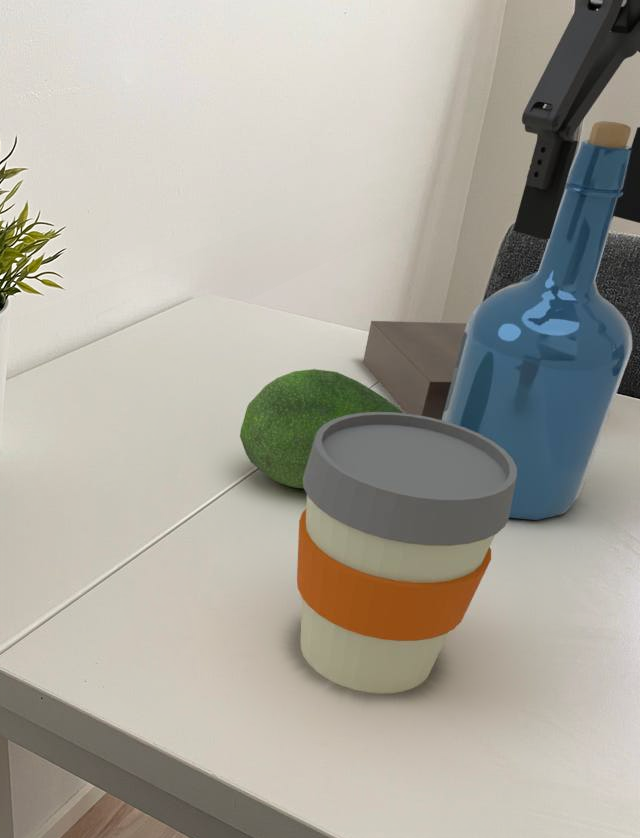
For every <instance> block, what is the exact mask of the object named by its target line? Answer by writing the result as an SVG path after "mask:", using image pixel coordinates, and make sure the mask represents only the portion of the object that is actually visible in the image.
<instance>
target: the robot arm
mask: <svg viewBox="0 0 640 838" xmlns="http://www.w3.org/2000/svg"><path fill="white" fill-rule="evenodd" d="M637 52H638V53H640V0H578V3H577V6H576V8H575V10H574V12H573V14H572V16H571V18H570V20H569V21H568V24H567V25H566V28H565V30H564V31H563V34H562V36H561V38H560V40H559V41H558V44H557V45H556V47H555V50H553V53H552V55H551V57H550V60H549V62H548V63H547V65H546V67H545V69H544V71H543V73H542V75H541V77H540V79H539V81H538V83H537V85H536V87H535V89H534V90H533V92H532V94H531V96H530V98H529V100H528V102H527V104H526V106H525V108H524V110H523V113H522V115H521V116H522V117H521V124H522V125H524V131H525V132H526V133H530V134H535V135H536V143H535V146H534V149H533V153H532V157H531V160H530V162H531V163H530V165H529V169H528V172H527V176H526V181H525V184H524V189H523V192H522V196H521V200H520V203H519V207H518V211H517V214H516V218H515V222H514V226H513V229H512V231H513V232H516V233H520V234H523V235H526V236H530V237H533V238H537V239H541V240H549V239H550V236H551V233H552V229H553V226H554V223H555V219H556V216H557V213H558V209H559V206H560V203H561V200H562V197H563V194H564V191H565V185H566V182H567V178H568V175H569V171H570V168H571V166H572V163H573V161H574V158H575V155H576V152H577V147H578V144H579V141H578V140H574V139H571V138H572V136H573V135H574V133H575V132H576V131H577V129H578V128H579V126H580V125H581V124H582V122H583V121H584V119H585V117H586V116H587V114H588V113H589V112H590V110H591V109H592V107H593V106H594V104H595V103H596V101H597V100H598V99H599V97H600V96H601V94H602V93H603V91H604V90H605V88H606V87H607V86H608V84H609V82H610V81H611V80H612V78H613V77H614V76H615V74H616V72H617V71H618V69H619V68H620V67H621V65H622V63H623V62H624V61H625V60H626V59H629V58H631V57H633V56H635V55H636V54H637ZM630 147H631V148H632V153H631V158H630V163H629V168H628V172H627V177H626V182H625V187H624V188H623V189H622V190H623V191H624V195H622V196H621V197H619V199H618V202H617V206H616V209H615V213H614V216H613V217H615V218H620V219H623V220H627V221H631V222H634V223H638V224H640V126H637V127H636V131H635V134H634V137H633V140H632V143H631V146H630Z"/></svg>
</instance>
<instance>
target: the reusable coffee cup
mask: <svg viewBox="0 0 640 838" xmlns="http://www.w3.org/2000/svg"><path fill="white" fill-rule="evenodd" d="M516 478H517V467H516V465H515V463H514V461H513V459H512V458H511V456H510V455H509V454H508V453H507V452H506V451H505V450H504V449H503V448H501V447H500V446H499V445H497V444H496V443H495V442H493V441H491V440H490V439H488V438H486V437H484V436H482V435H481V434H478V433H476V432H474V431H472V430H469V429H467V428H465V427H462V426H459V425H456V424H453V423H450V422H446V421H442V420H438V419H434V418H430V417H425V416H419V415H413V414H406V413H405V412H403V413H395V412H366V413H356V414H350V415H345V416H342V417H339V418H336V419H333V420H331V421H329V422H327V423H325V424H324V425H323V426H322V427H321V428H320V429H319V430H318V431H317V433H316V436H315V439H314V442H313V446H312V449H311V452H310V456H309V459H308V462H307V466H306V469H305V472H304V476H303V487H304V488H303V489H304V492H305V493H306V503H305V504H306V505H305V506H306V507H305V509H304V510H303V511H302V512H301V515H300V518H299V520H298V521H299V522H298V541H297V542H298V544H297V567H296V569H297V570H296V584H297V590H298V591H299V594H300V597H301V598H302V601H301V620H300V651H301V653H302V656H303V658H304V659H305V660H306V662H307V663H308V665H309V666H310V667H311V668H312V669H313V670H314V671H316V673H318V674H320V675H321V676H322V677H324V679H326V680H329V681H331V682H333V683H335V684H336V685H339V686H342V687H345V688H348V689H350V690H354V691H359V692H363V693H368V694H369V693H370V694H381V695H382V694H383V695H384V694H398V693H403V692H406V691H410V690H412V689H415V688H416V687H418V686H420V685H422V684H423V683H424V682H425V681H426V680H427V679H428V677H429V676H430V673H431V672H432V669H433V667H434V665H435V662H436V660H437V659H438V656H439V654H440V652H441V651H442V649H443V646H444V645H445V644H444V643H445V641H446V639H447V637H448V636H449V634H450V632H451V631H453V630H455V629H456V628H457V627H458V626H459V625H460V624H461V623H462V621H463V620H464V617H465V615H466V612H467V610H468V609H469V607H470V604H471V602H472V600H473V599H474V596H475V594H476V592H477V590H478V588H479V585H480V583H481V581H482V579H483V577H484V575H485V573H486V571H487V569H488V567H489V565H490V563H491V561H492V549H491V548H492V547H491V545H492V542H493V540H494V539H495V535H497V534H498V533H499V532H500V531H501V530H503V529H504V528H505V527H506V525H507V523H508V520H509V519H510V517H509V515H510V509H511V504H512V499H513V494H514V488H515V483H516Z"/></svg>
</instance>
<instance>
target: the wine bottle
mask: <svg viewBox="0 0 640 838" xmlns="http://www.w3.org/2000/svg"><path fill="white" fill-rule="evenodd" d="M631 130H632V128H631V127H630V126H629V125H627V124H626V123H622V122H615V121H607V120H606V121H605V120H602V121H597V122H595V123H594V124H593V125H592V127H591V131H590V134H589V137H588V138H589V139H585V140H583V141H581V142H580V143H579V146H578V148H577V150H576V152H575V155H574V158H573V161H572V165H571V168H570V171H569V175H568V178H567V182H566V185H565V188H564V192H563V195H562V199H561V202H560V206H559V209H558V212H557V216H556V219H555V223H554V226H553V229H552V233H551V236H550V239H547V243H546V245H545V250H544V252H543V255H542V258H541V262H540V264H539V267H538V271H536V272H533V273H531V274H529V275H527V276H525V277H523V278H522V279H521V281H519V282H515V283H512V284H509V285H507V286H505V287H502V288H500V289H498V290H497V291H495V292H493V294H491V295H490V296H488V297H487V298H485V300H483V301H482V302H480V304H479V305H477V306H476V307H475V309H474V310H473V311H472V313H471V315H469V317H468V319H467V321H466V323H467V324H466V328H465V331H464V335H463V339H462V343H461V347H460V351H459V355H458V359H457V362H456V366H455V370H454V374H453V378H452V382H451V386H450V390H449V393H448V397H447V401H446V405H445V409H444V413H443V417H442V421H446V422H450V423H453V424H456V425H459V426H462V427H465V428H467V429H469V430H472V431H474V432H476V433H478V434H481V435H482V436H484V437H486V438H488V439H490V440H491V441H493V442H495V443H496V444H497V445H499V446H500V447H501V448H503V449H504V450H505V451H506V452H507V453H508V454H509V455H510V456H511V458H512V459H513V461H514V463H515V465H516V467H517V478H516V483H515V488H514V494H513V499H512V504H511V509H510V515H509V519H511V518H512V519H521V520H522V519H523V520H531V521H533V520H534V521H537V520H543V519H548V518H552V517H557V516H561V515H564V514H566V513H567V512H568V510H569V509H571V507H572V506H573V505H574V503H575V502H576V500H577V499H578V497H579V496H580V494H581V493H582V490H583V487H584V484H585V481H586V480H587V477H588V474H589V470H590V467H591V465H592V463H593V461H594V460H593V459H594V458H595V457H594V456H595V454H596V451H597V449H598V446H599V443H600V440H601V437H602V435H603V432H604V429H605V427H606V423H607V421H608V418H609V415H610V412H611V409H612V407H613V404H614V401H615V399H616V396H617V393H618V391H619V387H620V385H621V382H622V379H623V376H624V373H625V370H626V368H627V366H628V364H629V363H628V362H629V360H630V357H631V354H632V350H633V335H632V330H631V327H630V324H629V323H628V321H627V319H626V317H624V315H623V314H622V313H621V312H620V310H618V308H617V307H616V306H615V305H613V304H612V302H610V301H609V300H608V299H607V298H605V297H604V296H603V295H602V294H600V292H599V289H598V286H597V281H596V279H597V276H598V273H599V269H600V265H601V262H602V259H603V256H604V251H605V248H606V244H607V240H608V237H609V234H610V230H611V226H612V223H613V220H614V217H615V216H614V213H615V209H616V206H617V202H618V199H619V197H621V196H622V195H624V191H623V190H622V189H623V188H624V187H625V182H626V177H627V172H628V168H629V163H630V158H631V153H632V148H631V146H629V145H628V141H629V139H630V137H631V133H632V131H631Z"/></svg>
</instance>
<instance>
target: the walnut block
mask: <svg viewBox="0 0 640 838" xmlns="http://www.w3.org/2000/svg"><path fill="white" fill-rule="evenodd" d="M466 324H467V322H466V323H462V322H431V321H430V322H427V321H395V320H394V321H392V320H391V321H390V320H389V321H388V320H386V321H385V320H371V321H370V325H369V330H368V335H367V340H366V344H365V350H364V354H363V360H362V364H363V365H364V366H365V367H366V369H367V370H368V371H369V372H370V373H371V375H373V377H374V378H375V379H376V380H377V382H378V383H379V384H380V385H381V386H382V388H384V390H385V391H386V392H387V393H388V394H389V395H390V397H391V398H392V399H393V400H394V401H395V402H396V404H397V405H398V406H399V407H400V408H401V409H402V411H403V413H405V414H413V415H419V416H425V417H430V418H434V419H438V420H442V417H443V413H444V409H445V405H446V401H447V397H448V393H449V390H450V386H451V382H452V378H453V374H454V370H455V366H456V362H457V359H458V355H459V351H460V347H461V343H462V339H463V335H464V331H465V328H466Z"/></svg>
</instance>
